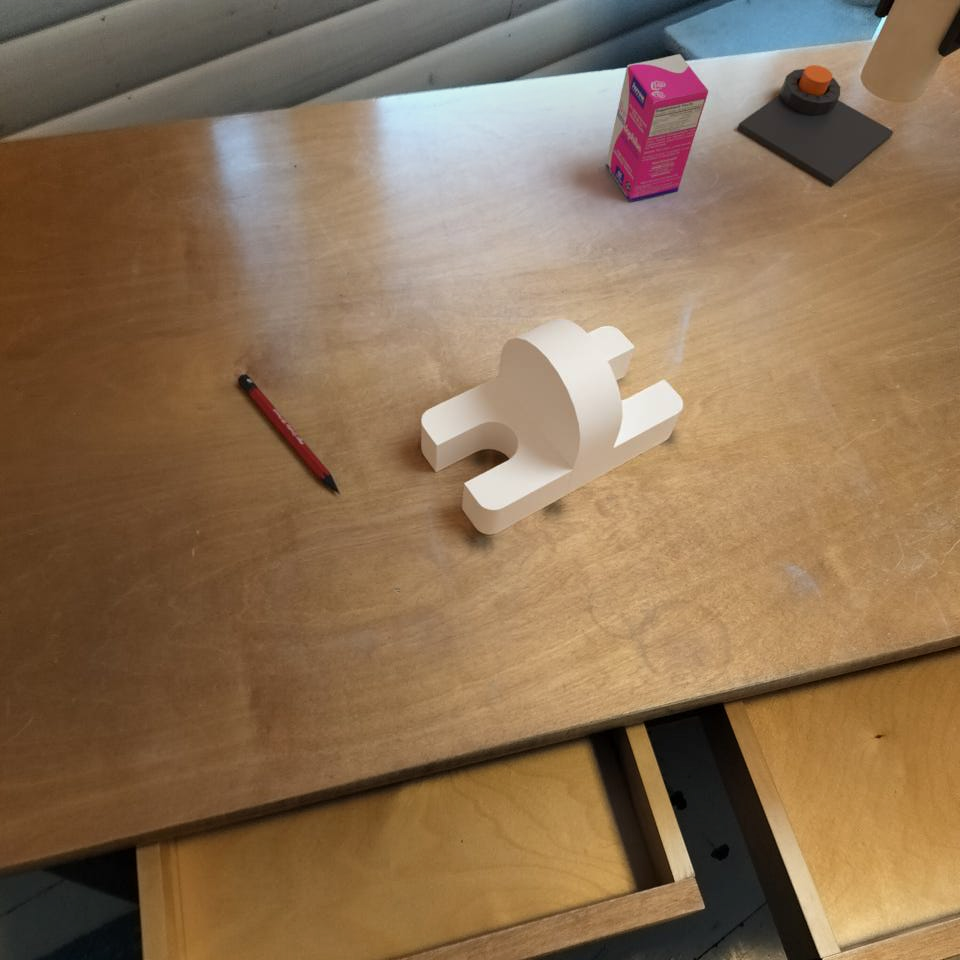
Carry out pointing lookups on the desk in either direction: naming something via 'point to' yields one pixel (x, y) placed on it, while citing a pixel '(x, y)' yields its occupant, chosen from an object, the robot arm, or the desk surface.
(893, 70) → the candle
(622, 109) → the supplement box
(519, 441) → the bracket
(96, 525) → the desk surface
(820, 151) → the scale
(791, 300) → the desk surface
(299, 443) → the pencil
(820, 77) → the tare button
